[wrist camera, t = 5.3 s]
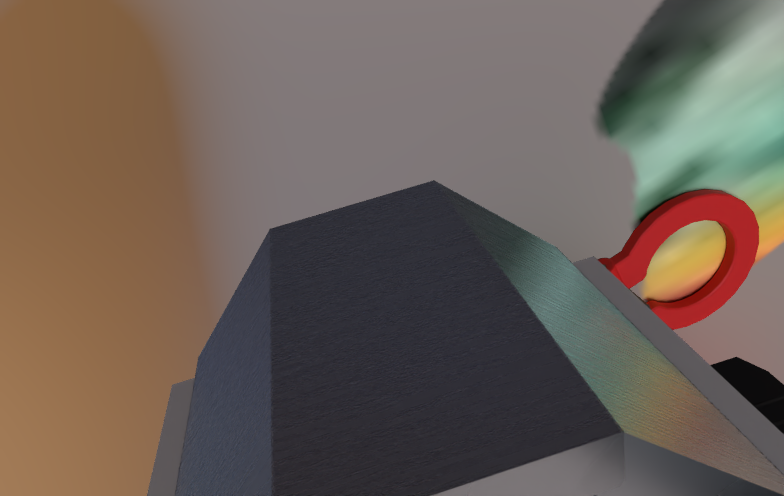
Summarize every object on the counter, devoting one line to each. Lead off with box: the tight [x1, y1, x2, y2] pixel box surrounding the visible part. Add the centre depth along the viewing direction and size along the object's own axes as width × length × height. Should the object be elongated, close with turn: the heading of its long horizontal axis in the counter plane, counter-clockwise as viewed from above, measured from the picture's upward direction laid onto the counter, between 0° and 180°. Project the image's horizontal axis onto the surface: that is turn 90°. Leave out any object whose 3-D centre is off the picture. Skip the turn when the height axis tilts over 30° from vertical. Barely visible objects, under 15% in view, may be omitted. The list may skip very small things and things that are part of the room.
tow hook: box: [598, 189, 759, 330], centre depth 26 cm, size 8×13×9 cm
